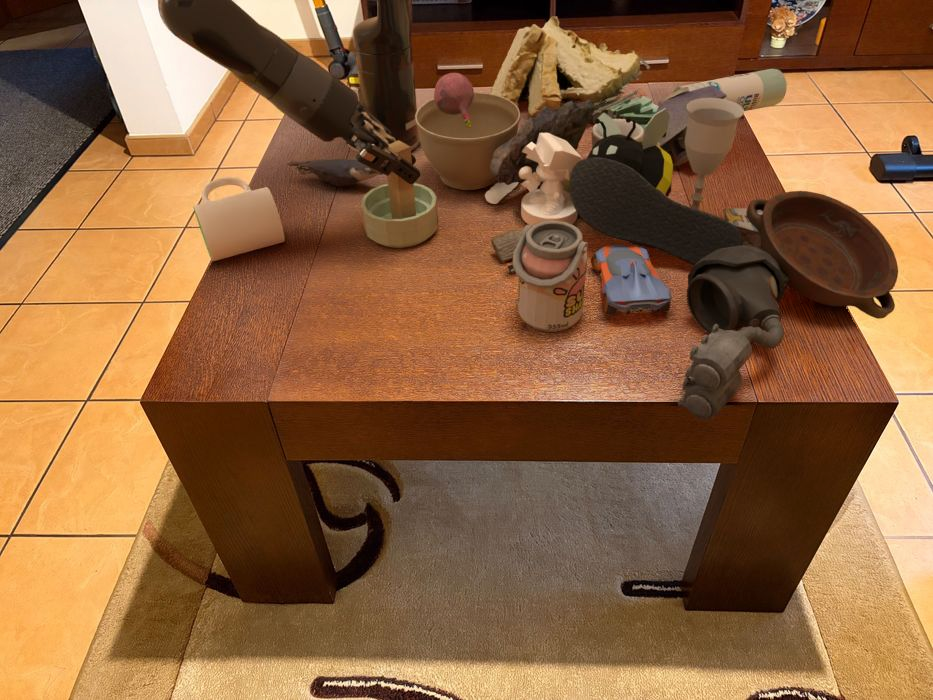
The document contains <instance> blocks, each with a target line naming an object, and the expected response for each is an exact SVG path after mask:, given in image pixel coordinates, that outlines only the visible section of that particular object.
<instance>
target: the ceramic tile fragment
mask: <svg viewBox="0 0 933 700" xmlns="http://www.w3.org/2000/svg"><path fill="white" fill-rule="evenodd" d="M723 210H724V218H723V219H724V220H726V221H728V222H729V223H731V224H733V225H734V226H735V227H736V228H737V229H738V230H739V231H740V233H741V236H742V245H748V246H753V247H757V248H759V249H761V236H760V233H759V232H758V230H757V229H756V228H755V227H754V226H753V225H752V224H751V223H750V221H749V220H748V218H747V214H746V211H747V208H746V207H744V208H743V207H728V208H724V209H723ZM755 211H756V212H757V213H758V214H760V215H763V211H761V210H755Z"/></svg>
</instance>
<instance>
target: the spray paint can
mask: <svg viewBox="0 0 933 700" xmlns="http://www.w3.org/2000/svg"><path fill="white" fill-rule="evenodd" d="M707 86H713V87H715V88H717V89H719V90H720V91H722V92H723V93H725V94H726V95H727V97H725V98H724V99H725V100H729V101H732V102H735V103H737V104H738V105H740V106H741V107H742V108H743V109H744V112H747V111H748V112H749V111H753V110H758V109H764V108H768V107H774V106H776V105H778V104H780V103H781V102H782V101H783V100H784V98H785V97H786V93H787V88H788V87H787V80H786V77H785V74H784V73H783V72H782V70H780V69H776V68H768V69H762V70H758V71H752V72H746V73H742V74H736V75H732V76H731V75H730V76H726V77H721V78H716V79H710V80H706V81H700V82H695V83H690V84H683V85H680V86H677V87H675V88H674V89H673V91H672V93H674V92H676V91H678V90H680V89H682V88H684V87H688V88H689V91H693V90H696V89H700V88H704V87H707Z"/></svg>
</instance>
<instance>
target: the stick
mask: <svg viewBox="0 0 933 700" xmlns="http://www.w3.org/2000/svg"><path fill="white" fill-rule="evenodd" d="M389 147H390V148H391V149H393V150H394V151H395V152H396V153H397V154H399V155H400V157H402V158H403V159H405V160H406V161H408V162H409V163H410V164H412V160H411V154H412V151H411V148H410V146H408V145H406V144H405V143H403V142H401V141H396V142H394V143H391V144H389ZM387 161H388V160H386V161H385V162H387ZM386 177H387V184H388V188H389V197H390V206H391V215H392V219H403V218H408V217H413V216H416V206H415V195H414V184H409V183H408V182H406V181H405V180H403V179H402V178H401V177H399V176H398V175H396V174H395V173H393V172H391V173H390V174H389V175H388V176H386Z"/></svg>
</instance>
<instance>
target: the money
mask: <svg viewBox="0 0 933 700" xmlns="http://www.w3.org/2000/svg"><path fill="white" fill-rule="evenodd" d="M627 95H628V94H627ZM627 95H624V96H621V97H619V98H617V99H615V100H613V101H611V102H606V101H604V102H601V103H600V104H597V105H595V106H594V107H595V110H594V111H596V110H598V109H600V108H603V107H605V106H608V105H610V104H612V103H613V102H616V101H618V100H620V99H622V98H623V97H625V96H627ZM658 107H659V105H657V104H656V103H653V99H652V98H649V97H647V96H644V95H642V96H641V97H640V96H636V97H633V98H631V99H629V100H627V101H626V102H624V103H622V104H620V105H618V106H616V107H614V108H611V109H609V110H603V111H601V113H595V114H594V115H593V116H592V123H593V124H594V125H595V124H596V123H595V119H597V118H598V117H600V116H601V115H602V114H603V113H605V114H606V115H608V116H609V117H610V118H612V119H625V120H626V118H627V117H630V118H631V120H635V121H636V123H637V124H639V125H640V126H641V127H642V128H643V131H644V130H645V126H646V125H647V124H648V122H649V121H650V120H651V118H652V117H653V116H654V114H655V113H656V111H657V109H658ZM678 142H679V144H680V146H681V147H682V148H683V149H686V148H685V145H684V142H683V139H682V137H679V138H678ZM660 148H662V149H663V150H664V151H666V152H672V150H671V147H670V144H669V141H667V142H666V143H664V144H663V145H662V146H660Z"/></svg>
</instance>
